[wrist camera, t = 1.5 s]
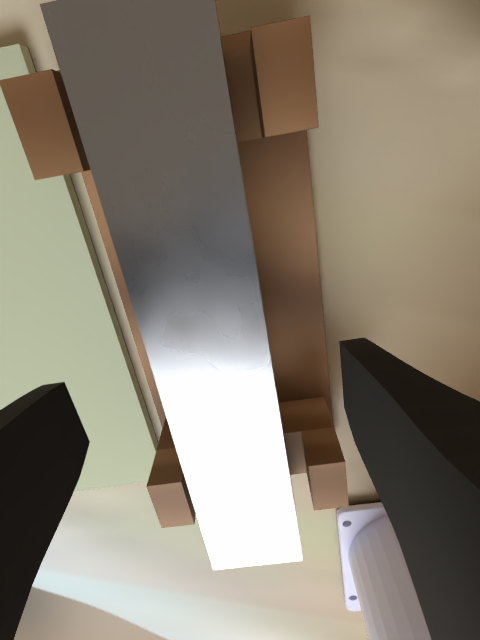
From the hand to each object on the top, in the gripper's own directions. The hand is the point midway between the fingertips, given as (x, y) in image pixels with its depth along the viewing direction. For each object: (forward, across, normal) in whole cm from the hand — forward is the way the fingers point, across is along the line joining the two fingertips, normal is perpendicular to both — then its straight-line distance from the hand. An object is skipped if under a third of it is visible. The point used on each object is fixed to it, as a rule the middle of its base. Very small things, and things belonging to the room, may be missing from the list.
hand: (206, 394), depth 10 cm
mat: (+8, +9, 0) cm, 12 cm away
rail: (+5, 0, 0) cm, 5 cm away
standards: (+8, 0, 0) cm, 8 cm away
